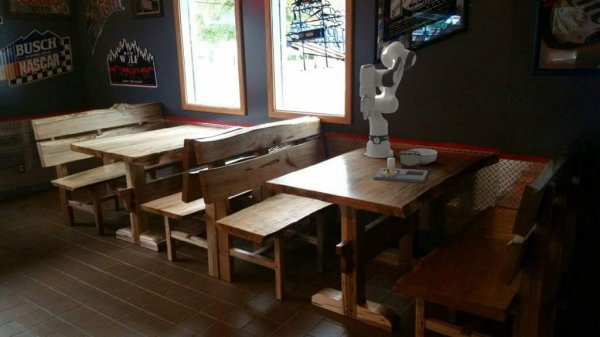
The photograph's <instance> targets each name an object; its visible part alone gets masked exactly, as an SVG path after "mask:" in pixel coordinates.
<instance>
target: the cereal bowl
mask: <svg viewBox="0 0 600 337" xmlns="http://www.w3.org/2000/svg"><path fill="white" fill-rule="evenodd" d="M410 150H413V151H419V152H420V153H421V156H420V160H419V165H428V164H431V163H432V162H434V161H436V160H437V157H438V151H436V149H435V150H434V149H430V148H412V149H410Z"/></svg>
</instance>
